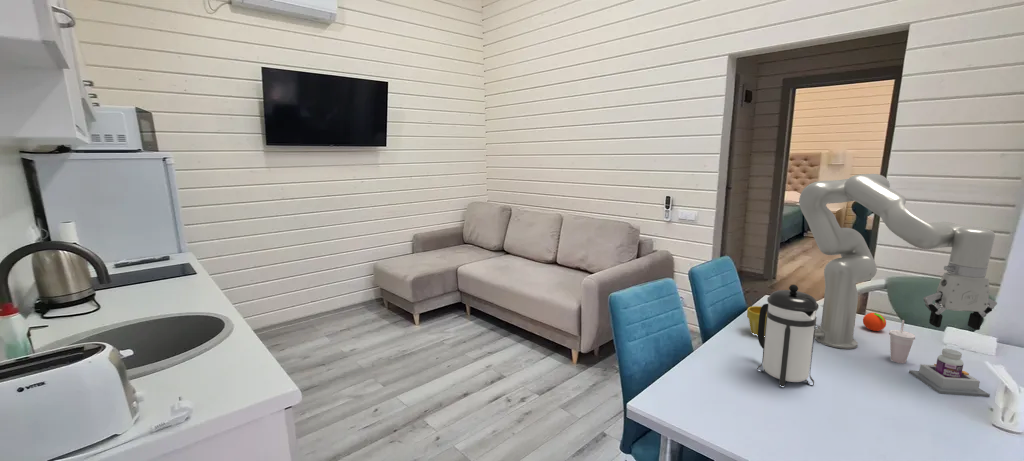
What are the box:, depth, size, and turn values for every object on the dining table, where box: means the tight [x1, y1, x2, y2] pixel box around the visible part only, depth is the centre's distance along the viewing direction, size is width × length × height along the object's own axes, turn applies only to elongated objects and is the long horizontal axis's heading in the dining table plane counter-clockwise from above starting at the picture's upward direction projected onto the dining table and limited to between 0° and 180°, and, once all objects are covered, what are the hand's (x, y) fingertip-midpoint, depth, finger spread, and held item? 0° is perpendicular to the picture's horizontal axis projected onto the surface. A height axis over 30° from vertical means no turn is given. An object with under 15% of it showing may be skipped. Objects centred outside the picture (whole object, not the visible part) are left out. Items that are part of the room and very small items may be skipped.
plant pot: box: [746, 305, 767, 336], centre depth 160 cm, size 10×10×10 cm
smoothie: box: [888, 319, 916, 365], centre depth 138 cm, size 6×6×14 cm
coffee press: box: [756, 284, 820, 386], centre depth 129 cm, size 17×16×30 cm
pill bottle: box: [935, 348, 964, 378], centre depth 124 cm, size 5×5×10 cm
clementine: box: [862, 312, 887, 332], centre depth 162 cm, size 8×7×7 cm
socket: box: [908, 363, 991, 398], centre depth 125 cm, size 12×12×4 cm
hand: (953, 326), depth 123 cm, fingers open, 9 cm apart
